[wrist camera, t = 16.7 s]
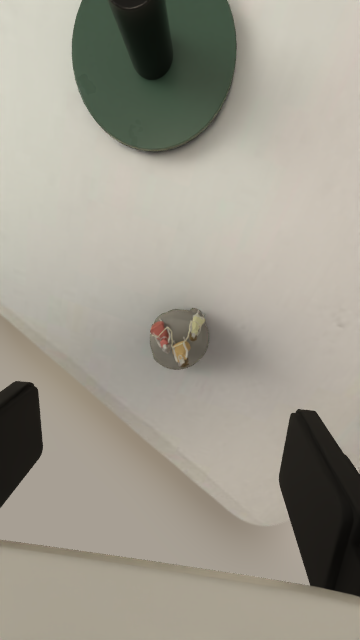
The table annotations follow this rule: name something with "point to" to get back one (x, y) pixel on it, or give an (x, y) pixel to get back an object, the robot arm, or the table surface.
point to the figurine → (179, 338)
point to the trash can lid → (154, 67)
